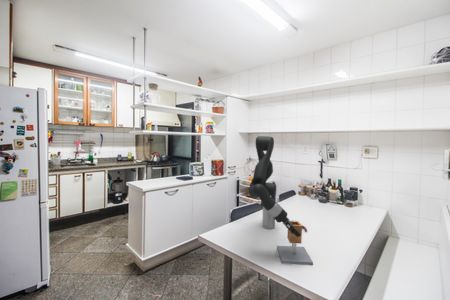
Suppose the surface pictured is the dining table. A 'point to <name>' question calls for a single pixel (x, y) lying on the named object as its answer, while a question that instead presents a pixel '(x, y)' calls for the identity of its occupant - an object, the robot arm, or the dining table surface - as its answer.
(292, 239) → the collar
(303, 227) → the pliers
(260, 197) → the robot arm
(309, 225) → the dining table surface
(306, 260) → the post base
